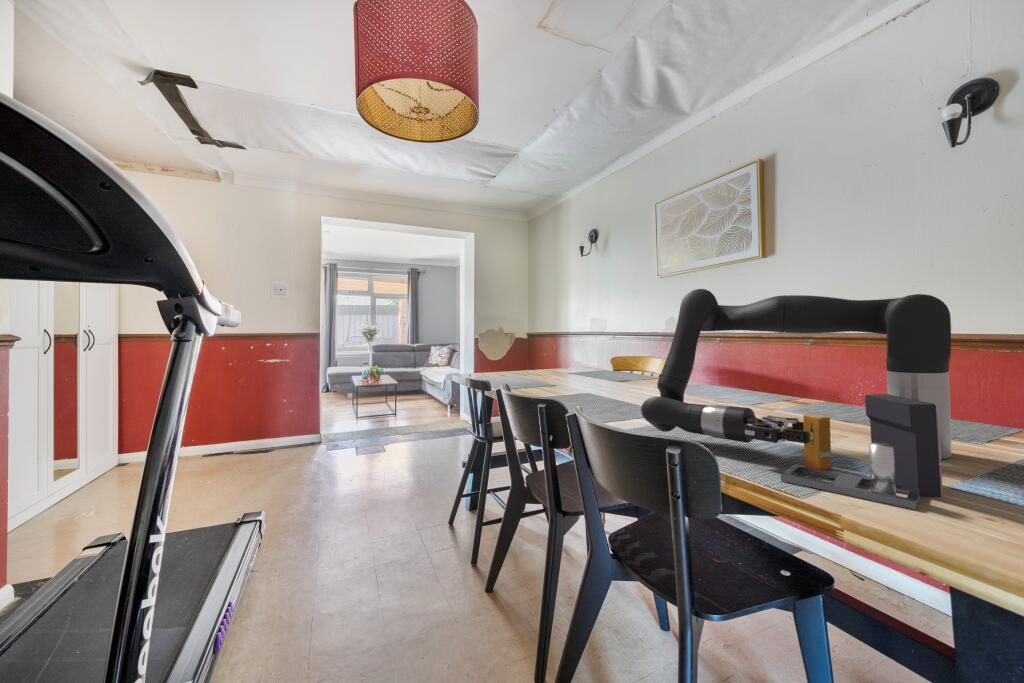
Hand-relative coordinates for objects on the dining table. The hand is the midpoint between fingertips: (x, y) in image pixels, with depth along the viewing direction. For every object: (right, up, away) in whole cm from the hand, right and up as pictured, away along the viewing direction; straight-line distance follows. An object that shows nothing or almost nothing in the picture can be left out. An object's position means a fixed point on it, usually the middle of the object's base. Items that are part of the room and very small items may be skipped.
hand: (815, 433), depth 78 cm
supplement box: (0, -7, 0) cm, 7 cm away
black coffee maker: (+8, -7, -10) cm, 14 cm away
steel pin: (0, -7, -14) cm, 15 cm away
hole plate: (-3, -7, -11) cm, 13 cm away
